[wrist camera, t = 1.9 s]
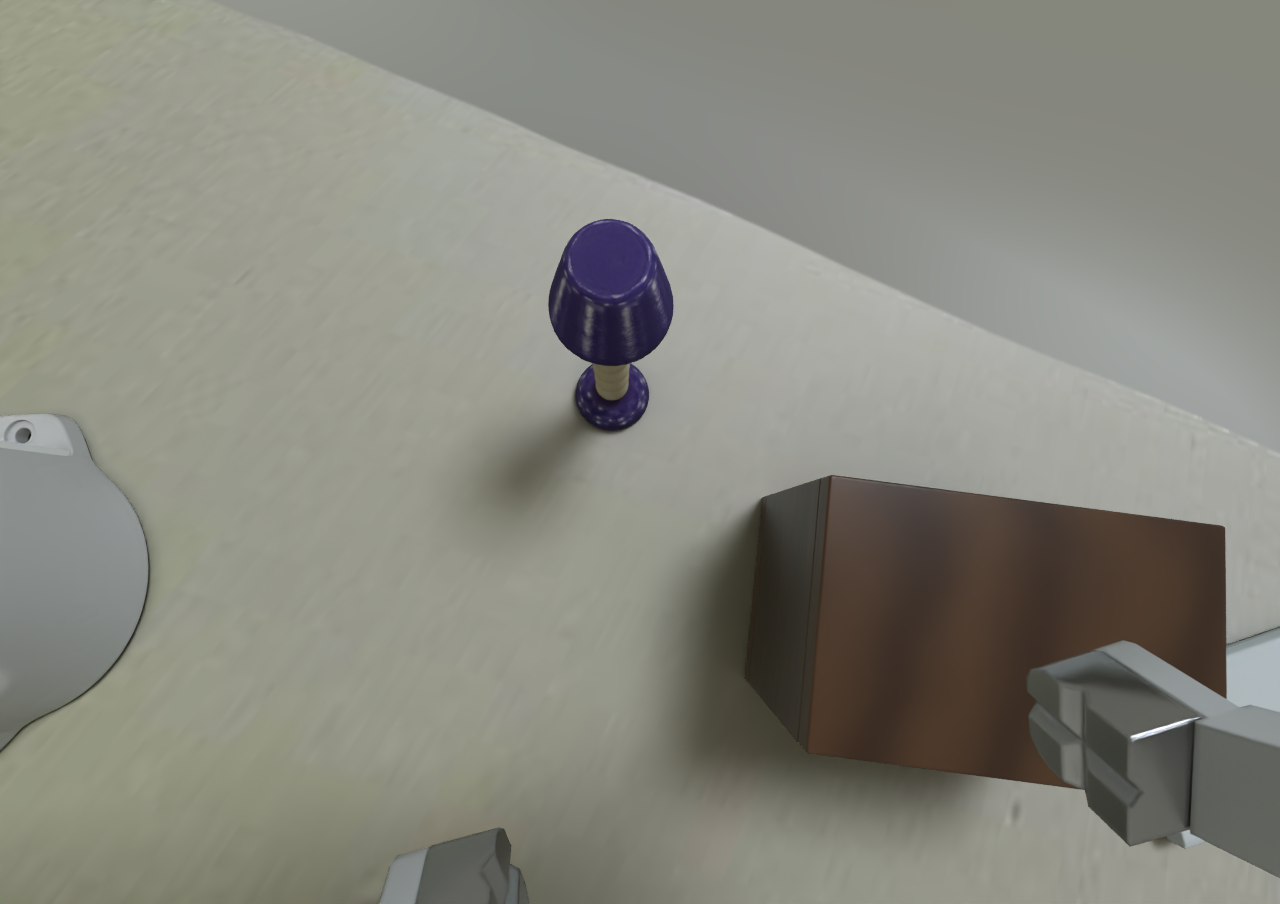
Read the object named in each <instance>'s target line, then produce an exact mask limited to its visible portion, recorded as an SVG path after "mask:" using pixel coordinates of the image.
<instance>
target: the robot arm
mask: <svg viewBox="0 0 1280 904" xmlns="http://www.w3.org/2000/svg"><path fill="white" fill-rule="evenodd" d="M30 433H31V438H30V439H29V441H28V436H29V434H30ZM148 572H149V568H148V552H147V545H146V541H145V536H144V533H143V530H142V527H141V524H140V521H139V519H138V517H137V515H136V513H135V511H134V509H133V507H132V506H131V504H130V502H129V501H128V499H127V498H126V497H125V495H124V494H123V493H122V492H121V490H120V489H119V488H118V487H117V486H116V485H115V484H114V483H113V482H112V481H111V480H110V479H109V478H108V477H107V476H106V475H105V474H103V473H102V472H101V471H100V469H99V468H98V467H97V466H96V465H95V463H94V462H93V461H92V459H91V456H90V453H89V450H88V447H87V444H86V442H85V439H84V436H83V434H82V432H81V430H80V428H79V426H78V425H77V424H76V422H75V421H74V420H73V419H71V418H70V417H67V416H64V415H56V414H46V413H41V414H24V415H8V416H0V750H1V749H2V748H3V747H4V746H5V745H6V744H7V743H8V742H9V741H10V740H11V739H12V738H13V737H14V736H15V735H16V733H17V732H18V731H19V730H20V729H21V728H22V727H24V726H25V725H27V724H28V723H30V722H31V721H33V720H35V719H37V718H39V717H41V716H43V715H45V714H47V713H49V712H51V711H53V710H55V709H57V708H60V707H62V706H63V705H65V704H67V703H69V702H70V701H72V700H73V699H75V698H77V697H78V696H79V695H81V694H82V693H83V692H85V691H86V690H88V689H89V688H90V687H91V686H92V685H93V684H95V683H96V682H97V681H98V680H99V679H100V678H101V677H102V676H103V675H104V674H105V673H106V672H107V671H108V669H109V668H110V667H111V666H112V665H113V664H114V662H115V661H116V660H117V658H118V657H119V656H120V654H121V653H122V651H123V650H124V648H125V647H126V645H127V643H128V642H129V640H130V638H131V636H132V634H133V632H134V630H135V628H136V625H137V623H138V621H139V618H140V615H141V612H142V609H143V605H144V602H145V597H146V592H147V585H148ZM1026 681H1027V692H1028V693H1029V694H1030V695H1031V696H1032V697H1033V698H1034V699H1036V700H1037V701H1036V703H1035V705H1034V706H1033V708H1032V710H1031V711H1030V713H1029V715H1028V720H1029V730H1030V735H1031V738H1032V740H1033V742H1034V744H1035V747H1036V749H1037V751H1038V753H1039V755H1040V756H1041V757H1042V759H1043V760H1044V762H1045V763H1046V764H1047V766H1048V767H1049V768H1050V769H1051V770H1052V771H1053V772H1054V773H1055V774H1056V775H1057V776H1058V777H1059V778H1060V779H1061V780H1062V781H1064V782H1066V783H1068V784H1071V785H1073V786H1076V787H1078V788H1081V789H1083V790H1085V792H1086V798H1087V803H1088V807H1090V808H1091V809H1092V810H1093V811H1094V812H1095V813H1096V814H1097V815H1098V816H1099V817H1100V818H1101V819H1102V820H1103V821H1104V822H1105V823H1106V824H1107V825H1108V826H1109V827H1110V828H1111V829H1112V830H1113V831H1114V832H1115V833H1116V834H1117V835H1119V836H1120V837H1121V838H1122V839H1123V840H1124V841H1125V842H1126V843H1127V844H1128V845H1129V846H1134V845H1137V844H1141V843H1144V842H1148V841H1151V840H1155V839H1159V838H1162V837H1166V836H1169V835H1173V834H1176V833H1180V832H1183V831H1187V830H1190V834H1192V835H1194V836H1196V837H1198V838H1200V839H1202V840H1204V841H1206V842H1208V843H1210V844H1212V845H1214V846H1216V847H1218V848H1220V849H1222V850H1224V851H1226V852H1228V853H1230V854H1232V855H1234V856H1236V857H1238V858H1240V859H1242V860H1244V861H1246V862H1248V863H1251V864H1253V865H1255V866H1257V867H1259V868H1261V869H1263V870H1265V871H1267V872H1269V873H1271V874H1273V875H1275V876H1277V877H1279V878H1280V712H1276V711H1273V710H1269V709H1265V708H1261V707H1257V706H1254V705H1247V706H1243V707H1238V706H1237V705H1235V704H1233V703H1232V702H1230V701H1228V700H1227V699H1225V698H1224V697H1222V696H1220V695H1219V694H1217V693H1215V692H1214V691H1212V690H1211V689H1209V688H1207V687H1206V686H1204V685H1202V684H1201V683H1199V682H1197V681H1196V680H1194V679H1193V678H1191V677H1189V676H1188V675H1186V674H1184V673H1183V672H1181V671H1179V670H1178V669H1176V668H1175V667H1173V666H1171V665H1170V664H1168V663H1166V662H1165V661H1163V660H1162V659H1160V658H1158V657H1157V656H1155V655H1153V654H1152V653H1150V652H1148V651H1147V650H1145V649H1144V648H1142V647H1140V646H1139V645H1137V644H1135V643H1132V642H1128V641H1124V640H1122V641H1119V642H1116V643H1113V644H1110V645H1106V646H1103V647H1100V648H1097V649H1094V650H1092V651H1090V652H1084V653H1081V654H1078V655H1075V656H1071V657H1068V658H1065V659H1062V660H1058V661H1055V662H1052V663H1049V664H1045V665H1042V666H1039V667H1036V668H1032V669H1030V671H1029V673H1028V675H1027V677H1026ZM510 859H511V844H510V841H509V839H508V837H507V834H506V832H505V830H504V829H503V828H500V827H499V828H495V829H491V830H488V831H484V832H480V833H476V834H473V835H469V836H465V837H462V838H458V839H454V840H450V841H447V842H443V843H439V844H435V845H432V846H431V847H428V848H424V849H420V850H416V851H413V852H409V853H405V854H401V855H397V856H396V858H395V859H394V861H393V862H392V863H391V865H390V867H389V869H388V873H387V876H386V880H385V883H384V887H383V890H382V894H381V897H380V901H379V904H529V898H528V894H527V890H526V885H525V881H524V879H523V876H522V873H521V870H520V869H519V868H517V867H515V866H514V865H512V864H510Z"/></svg>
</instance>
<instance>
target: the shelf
mask: <svg viewBox="0 0 1280 904" xmlns="http://www.w3.org/2000/svg"><path fill="white" fill-rule="evenodd" d="M1122 640H1124V641H1128V642H1132V643H1135V644H1137V645H1139V646H1140V647H1142V648H1144V649H1145V650H1147V651H1148V652H1150V653H1152V654H1153V655H1155V656H1157V657H1158V658H1160V659H1162V660H1163V661H1165V662H1166V663H1168V664H1170V665H1171V666H1173V667H1175V668H1176V669H1178V670H1179V671H1181V672H1183V673H1184V674H1186V675H1188V676H1189V677H1191V678H1193V679H1194V680H1196V681H1197V682H1199V683H1201V684H1202V685H1204V686H1206V687H1207V688H1209V689H1211V690H1212V691H1214V692H1215V693H1217V694H1219V695H1220V696H1222V697H1224V698H1225V699H1227V673H1226V567H1225V527H1223V526H1220V525H1212V524H1205V523H1197V522H1189V521H1182V520H1174V519H1166V518H1159V517H1151V516H1143V515H1136V514H1128V513H1120V512H1112V511H1105V510H1097V509H1089V508H1082V507H1074V506H1066V505H1059V504H1051V503H1043V502H1035V501H1028V500H1020V499H1012V498H1005V497H997V496H989V495H982V494H974V493H966V492H959V491H951V490H943V489H935V488H928V487H920V486H912V485H905V484H897V483H889V482H882V481H874V480H866V479H858V478H851V477H843V476H835V475H830V476H827V477H824V478H820V479H817V480H814V481H811V482H808V483H805V484H802V485H799V486H796V487H793V488H790V489H787V490H784V491H781V492H777V493H774V494H771V495H768V496H765V497H763V498H762V506H761V516H760V526H759V536H758V546H757V556H756V566H755V576H754V586H753V596H752V606H751V616H750V626H749V636H748V646H747V656H746V666H745V676H744V678H745V679H746V681H747V682H748V683H749V684H750V685H751V687H752V688H753V689H754V690H755V691H756V693H757V694H758V695H759V696H760V697H761V699H762V700H763V701H764V702H765V703H766V705H767V706H768V707H769V708H770V709H771V711H772V712H773V713H774V714H775V716H776V717H777V718H778V719H779V720H780V722H781V723H782V724H783V725H784V726H785V728H786V729H787V730H788V731H789V732H790V734H791V735H792V736H793V737H794V738H795V740H796V741H797V742H799V744H800V745H801V746H802V748H803V749H804V750H805V751H806V752H807V753H808V754H816V755H823V756H831V757H839V758H846V759H854V760H861V761H869V762H877V763H884V764H892V765H899V766H907V767H915V768H922V769H930V770H938V771H945V772H953V773H960V774H968V775H976V776H983V777H991V778H998V779H1006V780H1014V781H1021V782H1029V783H1037V784H1044V785H1052V786H1059V787H1067V788H1075V789H1081V788H1078V787H1076V786H1073V785H1071V784H1068V783H1066V782H1064V781H1062V780H1061V779H1060V778H1059V777H1058V776H1057V775H1056V774H1055V773H1054V772H1053V771H1052V770H1051V769H1050V768H1049V767H1048V766H1047V764H1046V763H1045V762H1044V760H1043V759H1042V757H1041V756H1040V755H1039V753H1038V751H1037V749H1036V747H1035V744H1034V742H1033V740H1032V738H1031V735H1030V730H1029V720H1028V715H1029V713H1030V711H1031V710H1032V708H1033V706H1034V705H1035V703H1036V701H1037V700H1036V699H1034V698H1033V697H1032V696H1031V695H1030V694H1029V693H1028V692H1027V681H1026V677H1027V675H1028V673H1029V671H1030V669H1032V668H1036V667H1039V666H1042V665H1045V664H1049V663H1052V662H1055V661H1058V660H1062V659H1065V658H1068V657H1071V656H1075V655H1078V654H1081V653H1084V652H1090V651H1092V650H1094V649H1097V648H1100V647H1103V646H1106V645H1110V644H1113V643H1116V642H1119V641H1122ZM1082 790H1083V789H1082Z"/></svg>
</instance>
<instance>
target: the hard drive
mask: <svg viewBox="0 0 1280 904" xmlns="http://www.w3.org/2000/svg"><path fill="white" fill-rule="evenodd" d="M1226 673H1227V700H1228V701H1230V702H1232V703H1233V704H1235V705H1237V706H1238V707H1243V706H1247V705H1254V706H1257V707H1261V708H1265V709H1269V710H1273V711H1276V712H1280V627H1279V628H1277V629H1273V630H1270V631H1267V632H1265V633H1262V634H1259V635H1256V636H1253V637H1250V638H1247V639H1244V640H1241V641H1238V642H1235V643H1232V644H1229V645H1227V646H1226ZM1166 838H1167V839H1168V840H1170V841H1172V842H1173V843H1175V844H1177V845H1179V846H1180V847H1182V848H1184V849H1187V848H1190V847H1193V846H1196V845H1199V844H1201V843H1204V842H1206V841H1204V840H1202V839H1200V838H1198V837H1196V836H1194V835H1192V834H1190V830H1187V831H1183V832H1180V833H1176V834H1173V835H1169V836H1166Z"/></svg>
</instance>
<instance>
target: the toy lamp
mask: <svg viewBox="0 0 1280 904" xmlns="http://www.w3.org/2000/svg"><path fill="white" fill-rule="evenodd" d="M548 307H549V315H550V320H551V323H552V326H553V329H554V331H555V333H556V335H557V336H558V338H559V340H560V341H561V342H562V343H563V345H564V346H565V347H566V348H567V349H568V350H570V351H571V352H572V353H573V354H575V355H577V356H578V357H580V358H581V359H583V360H585V361H588V362H591V363H593V364H592V365H591V366H589V367H588V368H587V369H586V370H585V371H584V373H583V374H582V375H581V377H580V379H579V381H578V383H577V387H576V395H575V397H576V403H577V406H578V409H579V410H580V412H581V414H582V416H583V417H584V418H585V419H586V420H587V421H588V422H589V423H590V424H592V425H593V426H595V427H598V428H600V429H603V430H619V429H624V428H627V427H629V426H631V425H632V424H634V423H636V422H637V421H638V420H639V419H640V418H641V416H642V415H643V414H644V412H645V410H646V408H647V404H648V400H649V389H648V385H647V382H646V380H645V378H644V376H643V374H642V373H641V372H640V371H639V369H637V368H636V367H635V366H634V365H632V364H631V363H632V362H635V361H638V360H640V359H642V358H643V357H645V356H646V355H648V354H649V353H651V352H652V351H653V350H654V349H655V348H656V347H657V346H658V345H659V344H660V342H661V341H662V340H663V338H664V337H665V335H666V334H667V331H668V329H669V326H670V324H671V320H672V316H673V295H672V291H671V287H670V284H669V281H668V279H667V276H666V274H665V271H664V269H663V266H662V264H661V261H660V259H659V257H658V255H657V252H656V250H655V248H654V246H653V244H652V243H651V242H650V240H649V239H648V238H647V237H646V235H645V234H644V233H643V232H642V231H641V230H639V229H638V228H637V227H635V226H633V225H632V224H630V223H628V222H624V221H620V220H615V219H604V220H598V221H595V222H592V223H590V224H588V225H586V226H584V227H582V228H581V229H580V230H578V231H577V232H576V233H575V234H574V235H573V236H572V238H571V239H570V241H569V242H568V244H567V245H566V247H565V249H564V252H563V254H562V257H561V260H560V262H559V265H558V268H557V270H556V273H555V276H554V279H553V282H552V285H551V289H550V294H549V304H548Z"/></svg>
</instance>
